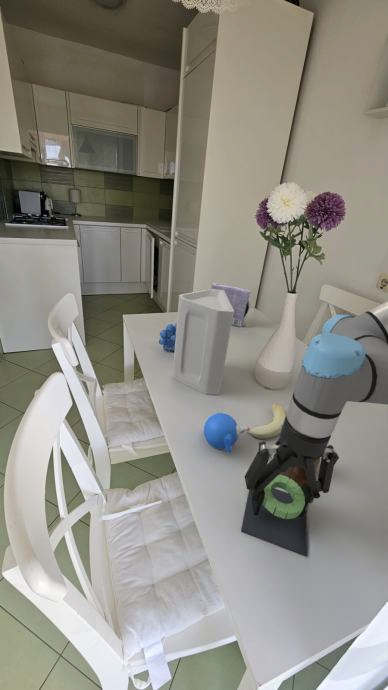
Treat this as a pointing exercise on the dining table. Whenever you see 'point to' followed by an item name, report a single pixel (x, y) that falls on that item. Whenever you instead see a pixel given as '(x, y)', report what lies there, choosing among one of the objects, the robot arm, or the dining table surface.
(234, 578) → the dining table surface
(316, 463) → the stand
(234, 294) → the purple towel
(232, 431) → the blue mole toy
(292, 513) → the ring
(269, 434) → the fruit
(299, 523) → the mat
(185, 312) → the white prism box
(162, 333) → the grapes
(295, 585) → the dining table surface
